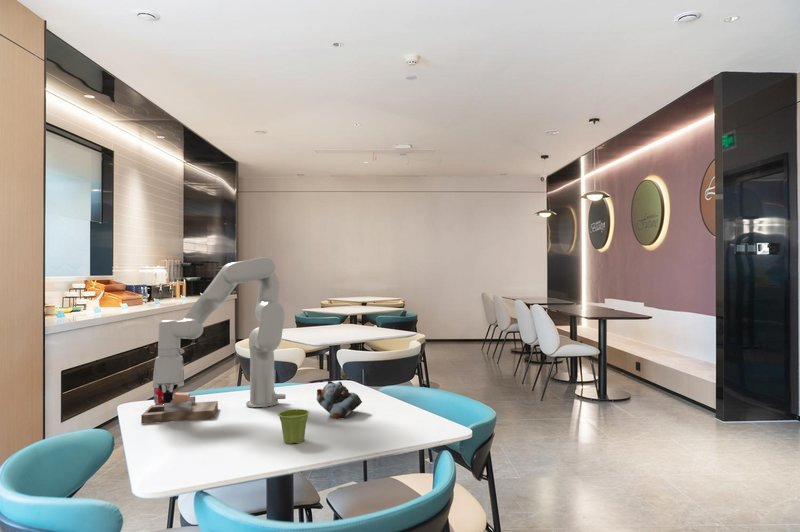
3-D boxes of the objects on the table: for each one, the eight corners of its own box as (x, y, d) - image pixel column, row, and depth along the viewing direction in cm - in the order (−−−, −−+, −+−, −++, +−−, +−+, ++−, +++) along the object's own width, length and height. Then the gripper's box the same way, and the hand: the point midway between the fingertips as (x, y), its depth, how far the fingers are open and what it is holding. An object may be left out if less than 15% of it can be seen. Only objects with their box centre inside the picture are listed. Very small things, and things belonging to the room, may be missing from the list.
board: (217, 408, 198) (217, 393, 199) (213, 418, 183) (213, 401, 183) (151, 413, 192) (151, 397, 192) (141, 423, 177) (141, 406, 177)
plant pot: (294, 447, 148) (294, 417, 148) (271, 443, 152) (271, 414, 153) (315, 439, 155) (315, 411, 156) (293, 435, 160) (293, 407, 161)
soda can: (175, 401, 212) (176, 373, 213) (166, 405, 205) (166, 376, 206) (160, 401, 213) (160, 373, 213) (150, 405, 206) (150, 376, 206)
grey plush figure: (341, 421, 177) (322, 386, 178) (323, 428, 184) (305, 395, 186) (368, 401, 188) (350, 368, 189) (350, 409, 196) (333, 377, 197)
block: (188, 405, 190) (189, 392, 191) (186, 408, 186) (187, 395, 186) (174, 405, 189) (175, 392, 190) (172, 408, 184) (173, 395, 185)
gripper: (192, 351, 193) (191, 399, 192) (149, 352, 189) (148, 401, 188) (188, 353, 186) (187, 403, 185) (144, 354, 182) (143, 406, 181)
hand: (168, 402), depth 186 cm, fingers closed
